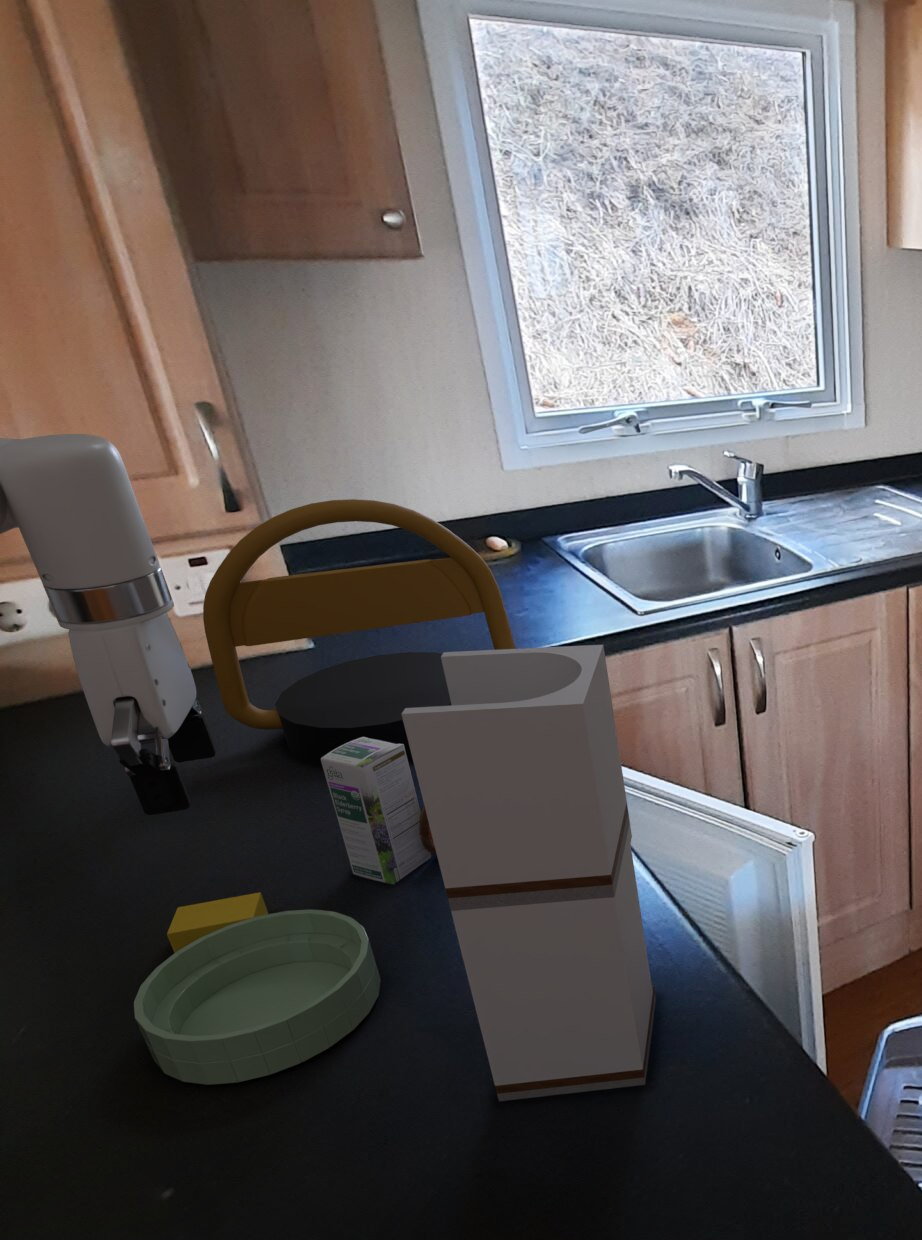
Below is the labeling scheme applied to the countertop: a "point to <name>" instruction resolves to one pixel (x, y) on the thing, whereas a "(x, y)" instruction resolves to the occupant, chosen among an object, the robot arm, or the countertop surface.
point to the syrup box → (376, 808)
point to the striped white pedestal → (539, 866)
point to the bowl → (258, 996)
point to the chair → (345, 627)
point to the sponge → (212, 917)
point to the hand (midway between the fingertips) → (183, 783)
